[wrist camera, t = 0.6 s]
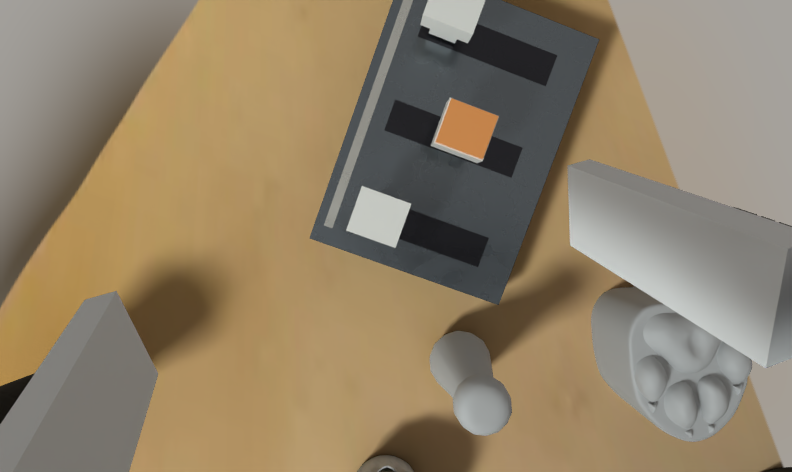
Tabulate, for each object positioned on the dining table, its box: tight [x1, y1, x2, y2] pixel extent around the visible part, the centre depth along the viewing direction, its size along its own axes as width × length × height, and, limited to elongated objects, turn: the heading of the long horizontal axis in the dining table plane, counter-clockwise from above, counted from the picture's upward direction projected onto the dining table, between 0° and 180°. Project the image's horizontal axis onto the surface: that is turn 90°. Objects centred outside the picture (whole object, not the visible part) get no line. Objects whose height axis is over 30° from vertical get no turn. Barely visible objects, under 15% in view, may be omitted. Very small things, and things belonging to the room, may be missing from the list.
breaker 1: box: [346, 186, 411, 248], centre depth 38 cm, size 4×4×5 cm
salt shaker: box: [430, 331, 512, 436], centre depth 40 cm, size 6×6×13 cm
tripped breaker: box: [431, 97, 499, 163], centre depth 38 cm, size 4×4×6 cm
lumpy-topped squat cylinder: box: [591, 287, 752, 442], centre depth 43 cm, size 10×13×9 cm
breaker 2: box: [420, 0, 485, 43], centre depth 37 cm, size 4×4×5 cm
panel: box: [310, 0, 599, 305], centre depth 43 cm, size 18×25×4 cm
